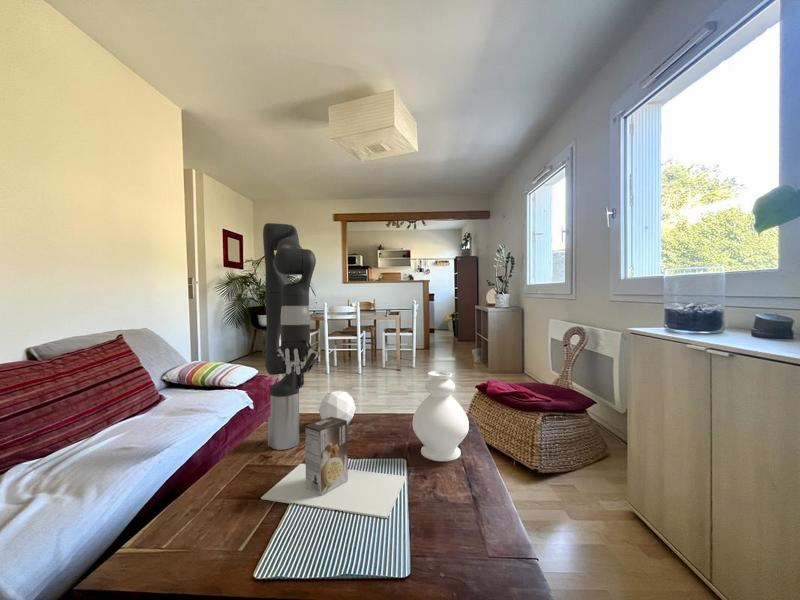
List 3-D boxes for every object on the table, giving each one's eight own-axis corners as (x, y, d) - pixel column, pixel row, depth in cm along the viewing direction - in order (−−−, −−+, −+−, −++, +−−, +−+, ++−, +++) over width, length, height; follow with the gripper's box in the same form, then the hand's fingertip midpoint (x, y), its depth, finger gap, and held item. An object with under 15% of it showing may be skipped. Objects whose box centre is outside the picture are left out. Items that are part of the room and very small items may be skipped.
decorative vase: (402, 457, 103) (402, 376, 104) (426, 437, 119) (425, 366, 119) (458, 470, 95) (458, 381, 95) (475, 447, 111) (474, 370, 111)
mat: (261, 499, 82) (261, 497, 82) (300, 464, 99) (300, 463, 99) (387, 518, 74) (387, 516, 74) (406, 477, 91) (406, 476, 91)
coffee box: (332, 474, 93) (332, 415, 93) (348, 481, 89) (348, 420, 89) (304, 488, 85) (304, 425, 86) (321, 497, 81) (320, 430, 82)
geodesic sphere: (319, 422, 118) (341, 385, 124) (303, 412, 129) (323, 379, 135) (349, 439, 126) (368, 404, 132) (331, 428, 137) (349, 396, 143)
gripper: (264, 323, 88) (264, 389, 88) (311, 323, 85) (311, 392, 84) (281, 322, 95) (281, 383, 95) (325, 322, 92) (325, 385, 92)
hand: (295, 387), depth 90 cm, fingers closed
